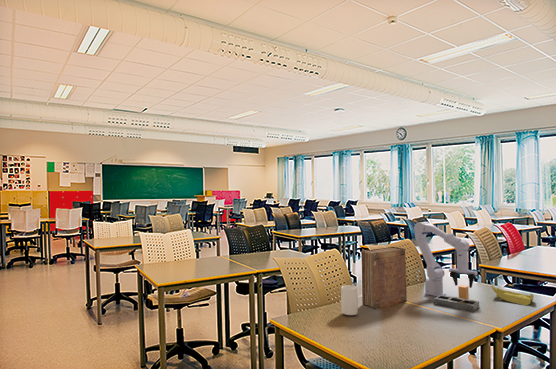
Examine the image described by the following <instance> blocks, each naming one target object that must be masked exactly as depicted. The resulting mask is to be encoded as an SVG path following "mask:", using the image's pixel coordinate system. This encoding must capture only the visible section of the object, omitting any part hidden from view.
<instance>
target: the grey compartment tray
mask: <svg viewBox="0 0 556 369" xmlns="http://www.w3.org/2000/svg"><path fill="white" fill-rule="evenodd" d="M433 304H434V305H438V306H442V307H447V308H448V307H449V308H451V309H453V308H454V309H458V310H463V311H468V312H473V313H474V312H475V311H477V309H479V308H480V301H479V300H473V299H470V298H469V299H463V298H459V297H458V296H451V295H447V294H445V295H439V296H435V297H434V298H433Z"/></svg>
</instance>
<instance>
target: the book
mask: <svg viewBox="0 0 556 369" xmlns="http://www.w3.org/2000/svg"><path fill="white" fill-rule="evenodd" d="M360 252H361V254H360V255H361V256H360V257H361V261H360V262H361V294H362V295H361V296H362V297H361V298H362V299H361V302H362V306H368V307H371V308H373V309H374V310H379V309H383V308H386V306H387V307H391V306H394V305H397V304H401V303H405V302H407V301H408V299H407V298H408V297H407V272H406V271H407V269H406V268H407V267H406V263H407V262H406V260H407V259H406V248H403V247H396V246H390V247H389V246H387V247H381V248H374V249H365V250H361V251H360ZM382 307H383V308H382Z"/></svg>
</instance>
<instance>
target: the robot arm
mask: <svg viewBox="0 0 556 369" xmlns="http://www.w3.org/2000/svg"><path fill="white" fill-rule="evenodd" d="M413 230H414V240H416V244H417V246H418V248H419V250H420V252H421V254H422V256H423V259H424V261H425V264H426V268H425V270H426V276H427V278H426V279H425V282H424V289H425V293H424V294H425V295H429V296H434V297H437V296H439V295H447V294H446V293H445V292H444V287H443V286H444V284H443V281H444V280H443V279H444V277H445V270H444V269H443V268H442V266H441V265H440V264H439V263H438V262H436V259H435V257H434V255H433V253H432V250H431V249H430V245H429V244H428V241H427V239H426V238H427V237H426V236H427V235H428V234H429V233H432V234H435V235H436V236H438V237H440V238H442V239H443V241H444V243H446V244H448V245H450V246H451V247H453V248H454V250H455V252H456V268H451V267H449V268H448V272H449V273H450V275H451V278H452V280H453V283H454V286H459V285H458V284H459V283H458V281H459V280H458V275H459V274H465V275H468V284H469V285H468V289H472V288H473V283H474V281H475V279H476V276H478V271H477V270H471V269H469V254H468V253H469V250H470V244H469V242H468V241H467V240H465V239H463V240H462V239H461V238H459V237H457V236H455V235H454V233H451V232H450V233H446V232H445V231H444V230H442V229H440V228H438V227H437V226H436V225H434V224H433V223H430V222H429V221H423V222H416V223H415V224H414V227H413Z"/></svg>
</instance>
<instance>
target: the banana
mask: <svg viewBox="0 0 556 369" xmlns="http://www.w3.org/2000/svg"><path fill="white" fill-rule="evenodd" d="M491 288H492V291H493V292H494V293H495V294H496V296H495V297H496V298H498V299H502V300H504V301H506V302H509V303H513V304H518V305H521V304H522V306H529V305H530V304H531V302H533V301H534V294H533V293H530V295H528V294H523V293H519V292H514V291H510V290H505V289H502V288H498V287H495V286H494V285H492V284H491Z"/></svg>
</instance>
